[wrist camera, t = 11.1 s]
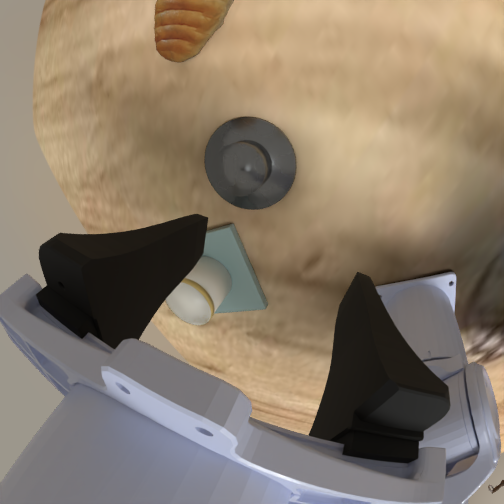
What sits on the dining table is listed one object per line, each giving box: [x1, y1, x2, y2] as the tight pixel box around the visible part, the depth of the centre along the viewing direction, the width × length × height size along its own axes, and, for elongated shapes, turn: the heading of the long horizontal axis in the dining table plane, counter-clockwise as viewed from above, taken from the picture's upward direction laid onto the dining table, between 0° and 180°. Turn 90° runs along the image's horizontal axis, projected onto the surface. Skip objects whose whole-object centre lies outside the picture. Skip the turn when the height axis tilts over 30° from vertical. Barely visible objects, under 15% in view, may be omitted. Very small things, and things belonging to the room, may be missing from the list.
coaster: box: [202, 224, 268, 313], centre depth 28 cm, size 9×9×1 cm
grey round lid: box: [205, 117, 296, 210], centre depth 20 cm, size 8×8×2 cm
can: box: [165, 256, 232, 326], centre depth 26 cm, size 5×5×4 cm
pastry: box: [154, 0, 234, 62], centre depth 15 cm, size 9×7×4 cm
